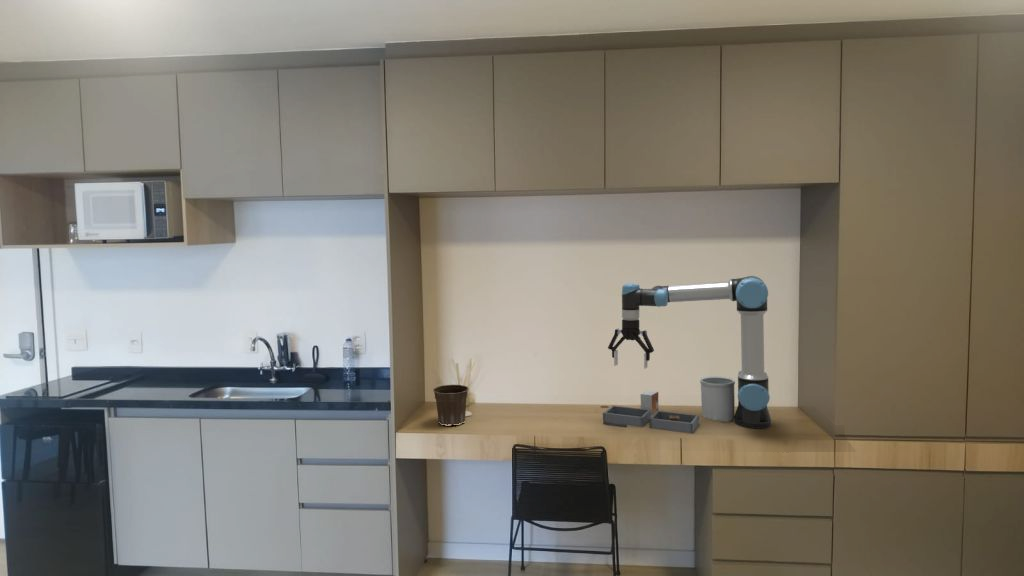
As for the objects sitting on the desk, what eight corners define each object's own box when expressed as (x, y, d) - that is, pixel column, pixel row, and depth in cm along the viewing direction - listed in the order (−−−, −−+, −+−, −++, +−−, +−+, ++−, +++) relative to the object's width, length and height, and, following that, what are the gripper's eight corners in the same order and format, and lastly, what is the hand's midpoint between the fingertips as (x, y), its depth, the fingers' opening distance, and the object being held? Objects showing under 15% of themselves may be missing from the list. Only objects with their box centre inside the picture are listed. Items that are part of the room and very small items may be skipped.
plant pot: (476, 419, 273) (474, 385, 272) (458, 430, 259) (457, 394, 258) (446, 416, 280) (444, 383, 279) (427, 426, 266) (426, 391, 264)
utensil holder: (700, 421, 259) (700, 383, 258) (700, 412, 273) (699, 375, 272) (736, 423, 255) (736, 384, 253) (733, 413, 269) (733, 376, 267)
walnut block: (679, 424, 253) (679, 415, 253) (679, 427, 249) (679, 418, 249) (669, 424, 254) (669, 415, 254) (669, 427, 250) (669, 418, 250)
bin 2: (699, 426, 253) (698, 415, 252) (692, 435, 242) (692, 423, 241) (657, 421, 262) (657, 410, 261) (649, 430, 250) (649, 418, 250)
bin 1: (651, 420, 263) (650, 409, 263) (642, 429, 252) (642, 417, 251) (612, 415, 272) (612, 405, 271) (603, 424, 261) (602, 413, 260)
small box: (651, 417, 267) (651, 395, 266) (640, 416, 270) (640, 393, 270) (659, 413, 273) (658, 391, 273) (647, 411, 277) (647, 389, 276)
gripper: (661, 319, 254) (660, 367, 256) (606, 316, 266) (606, 362, 268) (656, 321, 247) (656, 370, 249) (600, 318, 260) (601, 365, 261)
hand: (630, 366), depth 259 cm, fingers open, 13 cm apart
